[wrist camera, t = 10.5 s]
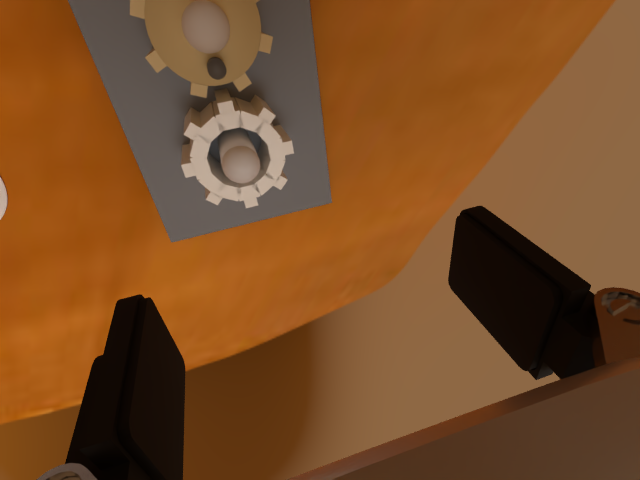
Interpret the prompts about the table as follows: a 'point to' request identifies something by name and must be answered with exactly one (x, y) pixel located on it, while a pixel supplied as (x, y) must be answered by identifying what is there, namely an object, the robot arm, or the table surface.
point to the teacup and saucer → (2, 198)
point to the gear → (227, 117)
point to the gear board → (211, 97)
